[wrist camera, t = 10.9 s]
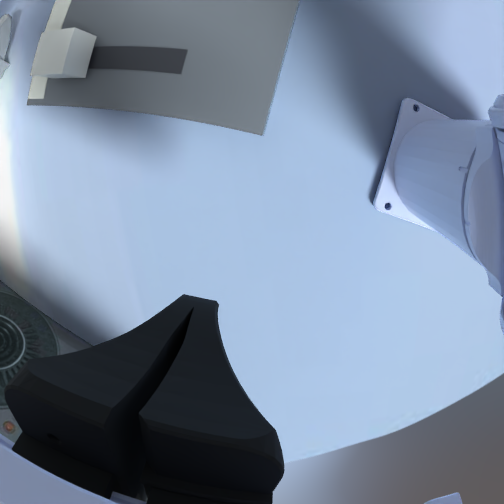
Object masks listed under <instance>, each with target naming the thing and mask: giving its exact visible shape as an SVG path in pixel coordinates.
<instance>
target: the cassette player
mask: <svg viewBox="0 0 504 504" xmlns="http://www.w3.org/2000/svg"><path fill="white" fill-rule="evenodd" d="M90 347H93V345H91V344H89V343H88V342H86V341H84V340H83V339H81V338H80V337H78V336H76V335H75V334H73V333H72V332H70V331H69V330H67V329H66V328H64V327H63V326H61V325H60V324H58V323H57V322H55V321H54V320H52V319H51V318H49V317H48V316H46V315H45V314H44V313H42V312H41V311H39V310H38V309H37V308H35V307H34V306H33V305H31V304H30V303H28V302H27V301H26V300H25V299H23V298H22V297H21V296H19V295H18V294H17V293H15V292H14V291H13V290H12V289H10V288H9V287H8V286H7V285H5V284H4V283H3V282H2V281H1V280H0V434H2V435H3V436H5V437H6V438H8V439H9V440H11V441H12V442H14V443H15V442H16V441H17V439H18V437H19V436H20V434H21V433H22V430H21V428H20V426H19V425H18V423H17V421H16V420H15V418H14V416H13V414H12V413H11V411H10V409H9V407H8V405H7V403H6V400H5V396H4V389H5V387H6V385H7V384H8V383H9V382H10V380H11V379H12V378H13V377H14V376H15V374H16V373H17V372H18V371H19V370H20V368H21V367H22V366H23V365H24V364H25V363H26V362H27V361H28V360H29V359H34V358H42V357H50V356H57V355H63V354H67V353H72V352H76V351H80V350H83V349H87V348H90ZM146 502H147V501H146Z"/></svg>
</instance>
